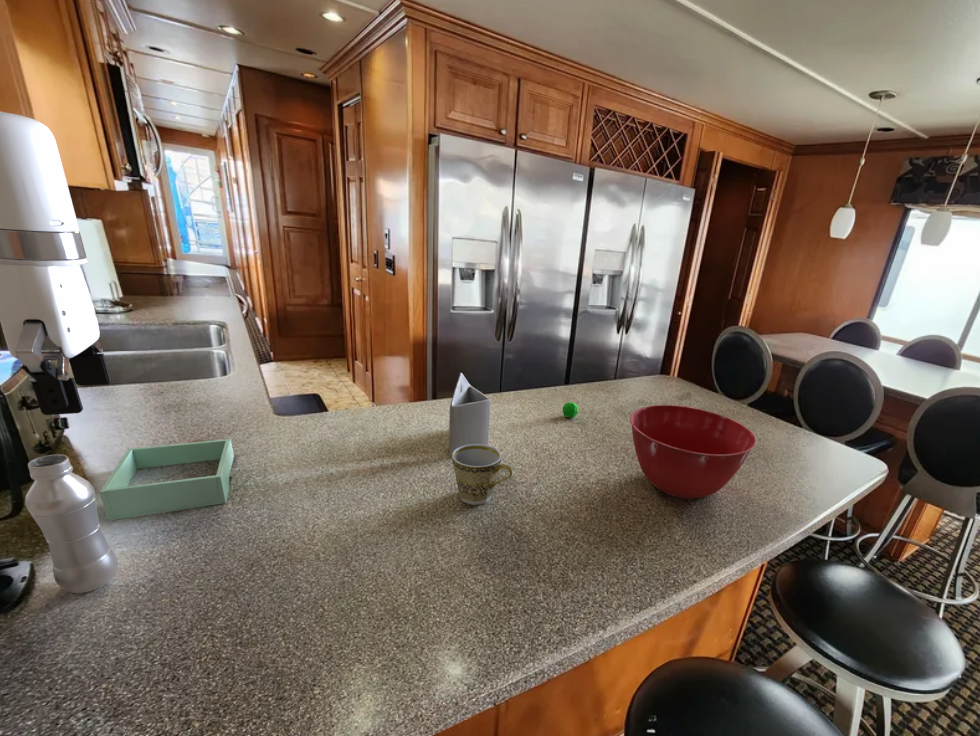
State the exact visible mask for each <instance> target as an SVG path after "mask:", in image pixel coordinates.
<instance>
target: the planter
mask: <svg viewBox="0 0 980 736" xmlns="http://www.w3.org/2000/svg"><path fill="white" fill-rule="evenodd" d="M491 402H492V401H491V398H490V397H488V396H487V395H486V394H484V393H482V392H481V391H480V390H478V389H477V388H475V387H473V386H472V385H471V384H470V383H469V381H468V380H467V378H466V377H465V375H464V373H462V372H460V373H459V376H458V378H457V382H456V384H455V388H454V391H453V395H452V398H451V401H450V405H449V418H448V419H449V420H448V421H449V423H448V425H449V426H448V431H449V432H448V458H449V459H452V453H453V451H454V450H455V449H457V448H459V447H461V446H464V445H470V444H482V445H488V446H489V443H490V440H489V439H490V419H491Z"/></svg>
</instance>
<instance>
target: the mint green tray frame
mask: <svg viewBox="0 0 980 736" xmlns="http://www.w3.org/2000/svg"><path fill="white" fill-rule="evenodd" d="M232 444H233V443H232V439H231V438H226V439H225V438H224V439H215V440H204V441H203V440H202V441H193V442H183V443H173V444H163V445H153V446H152V445H151V446H142V447H132V448H131V447H130V448H127V450H126V451H125V452H124V454H123V456H122V457H121V459H120V460H119V462H118V463H117V465H116V467H115V468H114V469H113V471H112V472H111V474H110V475H109V477H108V478H107V480H106V481H105V482H104V484H103V486H102V487H101V488H100V490H99V495H100V499H101V501H102V504H103V508H104V511H105V514H106V517H107V520H108V521H109V522H110V521H116V520H123V519H130V518H135V517H143V516H150V515H156V514H163V513H170V512H176V511H183V510H189V509H197V508H203V507H210V506H216V505H217V506H218V505H223V504H227V500H228V496H229V491H230V487H231V483H232V476H230V475H231V470H232V466H233V461H234V457H235V455H234V449H233V445H232ZM218 460H219V464H218V467H217V471H216V473H215V475H208V476H199V477H191V478H184V479H183V478H182V479H175V480H168V481H159V482H153V483H152V482H151V483H144V484H136V485H129V484H130V482H131V480H132V479H133V477H134V475H136V472H137V470H138V469H147V468H154V467H156V468H157V467H164V466H173V465H182V464H190V463H200V462H201V463H202V462H209V461H218Z"/></svg>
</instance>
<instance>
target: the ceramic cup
mask: <svg viewBox="0 0 980 736" xmlns="http://www.w3.org/2000/svg"><path fill="white" fill-rule="evenodd" d="M502 455H503V454H502V452H501V451H500V450H499V449H497V448H496V447H493V446H491V445H489V444H488V445H482V444H470V445H464V446H461V447H459V448H457V449H455V450H454V451H453V453H452V458H451V459H452V465H453V470H454V474H455V480H456V485H457V492H458V497H459V498H460V501H461V502H462V503H465V504H468V505H471V506H478V505H484V504H487V503H488V502H489V501H490V500H491V499H492V496H493V491H494V489H495V487H496V486H497V485H499V484H500V483H502V482H504V481H506V480H509V479H510V478H511V477H512V475H513V470H512V468H511V467H510V465H508V464H506V463H505V464H504V463H503V464H501V463H502V457H503V456H502ZM502 469H505V470H507V471H508V472H509V475H508V476H506V477H503V478H501V479H500V480H498V481H496V480H497V477H498V474H499V471H500V470H502Z"/></svg>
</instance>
